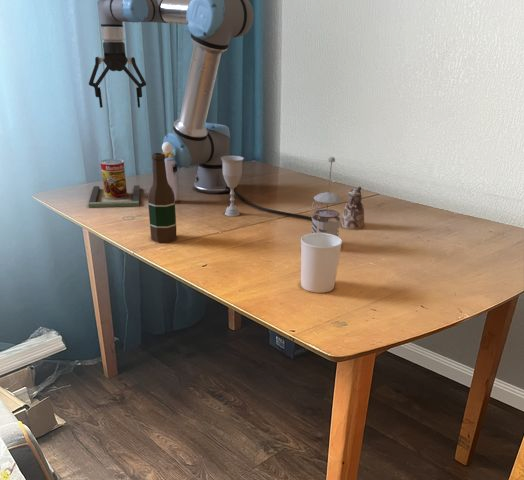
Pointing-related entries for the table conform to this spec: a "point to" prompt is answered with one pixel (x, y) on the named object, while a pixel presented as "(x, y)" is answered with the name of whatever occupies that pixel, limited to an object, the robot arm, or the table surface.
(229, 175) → the chalice
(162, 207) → the beer bottle
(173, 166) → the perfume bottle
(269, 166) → the table surface
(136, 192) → the tray
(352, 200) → the figurine
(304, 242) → the white cup
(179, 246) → the table surface
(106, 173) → the canned food
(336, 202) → the french press
